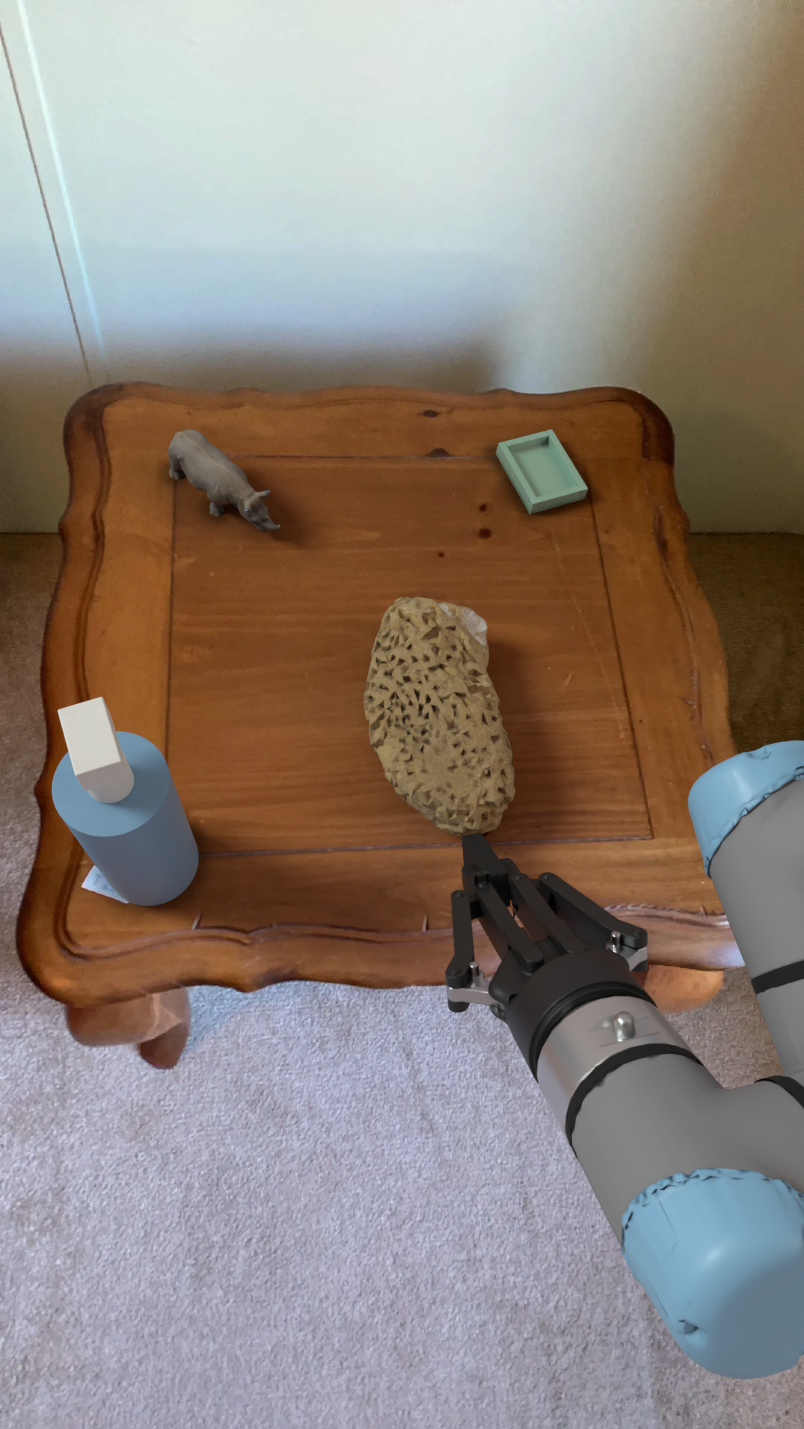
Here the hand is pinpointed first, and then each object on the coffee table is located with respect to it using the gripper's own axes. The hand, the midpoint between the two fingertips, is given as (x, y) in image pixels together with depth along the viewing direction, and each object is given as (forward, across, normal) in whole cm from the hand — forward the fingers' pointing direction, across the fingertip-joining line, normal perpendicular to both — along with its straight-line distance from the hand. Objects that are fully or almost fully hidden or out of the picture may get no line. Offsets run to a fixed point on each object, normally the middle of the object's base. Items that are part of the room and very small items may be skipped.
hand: (472, 850), depth 70 cm
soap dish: (+28, -17, -24) cm, 41 cm away
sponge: (+11, 0, -6) cm, 12 cm away
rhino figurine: (+29, +14, -24) cm, 40 cm away
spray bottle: (+6, +24, -1) cm, 24 cm away
